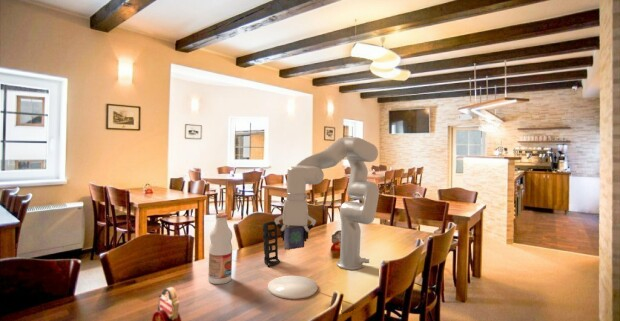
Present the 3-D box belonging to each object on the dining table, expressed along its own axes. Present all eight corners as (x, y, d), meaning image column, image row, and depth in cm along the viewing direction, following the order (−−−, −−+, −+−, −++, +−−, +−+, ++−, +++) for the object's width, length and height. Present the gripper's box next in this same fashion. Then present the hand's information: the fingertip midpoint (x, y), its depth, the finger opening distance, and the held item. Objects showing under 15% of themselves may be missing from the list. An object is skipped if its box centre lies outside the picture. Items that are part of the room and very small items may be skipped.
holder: (275, 267, 154) (273, 225, 154) (260, 267, 156) (258, 225, 156) (282, 260, 165) (280, 220, 165) (268, 260, 167) (265, 221, 167)
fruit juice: (209, 276, 142) (210, 212, 141) (231, 275, 144) (233, 212, 143) (207, 285, 133) (209, 216, 132) (231, 283, 135) (233, 216, 134)
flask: (285, 250, 129) (286, 223, 128) (282, 248, 131) (282, 221, 131) (305, 247, 134) (306, 221, 133) (302, 245, 136) (302, 219, 136)
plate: (316, 279, 143) (316, 276, 143) (318, 300, 123) (318, 296, 123) (270, 277, 143) (270, 275, 143) (265, 298, 123) (265, 295, 123)
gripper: (317, 196, 136) (315, 238, 136) (275, 195, 135) (273, 237, 136) (317, 199, 128) (316, 243, 129) (273, 198, 128) (272, 242, 128)
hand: (294, 240), depth 132 cm, fingers closed on flask, 8 cm apart
